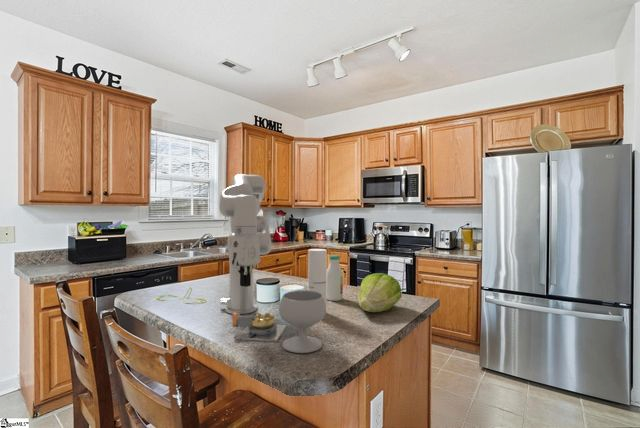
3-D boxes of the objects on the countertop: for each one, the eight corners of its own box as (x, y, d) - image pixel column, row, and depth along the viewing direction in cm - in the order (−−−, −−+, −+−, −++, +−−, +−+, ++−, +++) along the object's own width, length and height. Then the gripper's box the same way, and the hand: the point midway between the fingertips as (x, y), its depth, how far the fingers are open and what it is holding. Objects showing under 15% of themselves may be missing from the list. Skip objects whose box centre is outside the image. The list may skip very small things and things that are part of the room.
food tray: (274, 320, 110) (274, 308, 110) (274, 328, 102) (274, 315, 102) (233, 322, 108) (233, 310, 108) (230, 330, 101) (230, 317, 101)
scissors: (152, 300, 145) (152, 289, 145) (169, 295, 155) (169, 285, 155) (198, 305, 137) (198, 294, 137) (212, 300, 147) (212, 289, 147)
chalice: (335, 348, 94) (335, 296, 94) (294, 360, 86) (294, 304, 86) (309, 333, 105) (309, 287, 105) (270, 343, 97) (270, 293, 97)
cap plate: (235, 339, 100) (235, 332, 100) (250, 324, 113) (250, 318, 113) (276, 341, 98) (276, 334, 98) (286, 326, 111) (286, 320, 111)
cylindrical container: (324, 316, 122) (324, 251, 122) (306, 315, 124) (306, 250, 124) (327, 311, 129) (327, 249, 129) (310, 309, 131) (310, 248, 131)
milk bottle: (337, 302, 143) (337, 257, 142) (322, 299, 147) (322, 255, 147) (345, 298, 149) (345, 255, 149) (331, 296, 153) (331, 254, 153)
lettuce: (342, 316, 126) (345, 281, 123) (366, 295, 146) (370, 265, 144) (383, 331, 117) (388, 294, 115) (403, 306, 138) (407, 275, 135)
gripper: (239, 232, 101) (238, 291, 100) (267, 231, 114) (267, 283, 114) (221, 232, 104) (220, 289, 104) (250, 230, 117) (250, 281, 117)
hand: (245, 285), depth 109 cm, fingers closed
